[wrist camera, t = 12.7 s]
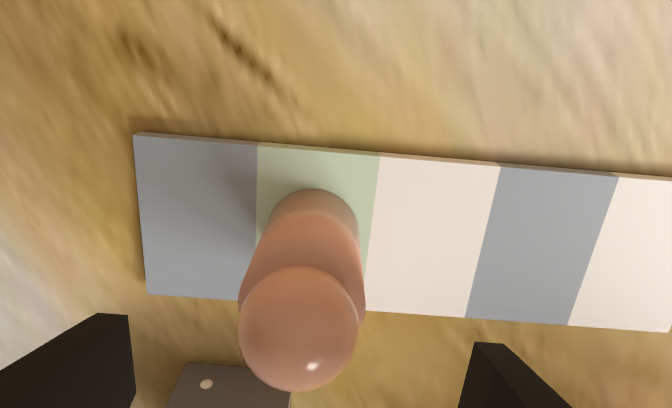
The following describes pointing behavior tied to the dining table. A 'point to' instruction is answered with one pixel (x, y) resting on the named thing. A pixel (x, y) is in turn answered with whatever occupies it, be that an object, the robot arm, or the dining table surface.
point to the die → (224, 389)
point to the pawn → (303, 293)
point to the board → (419, 229)
